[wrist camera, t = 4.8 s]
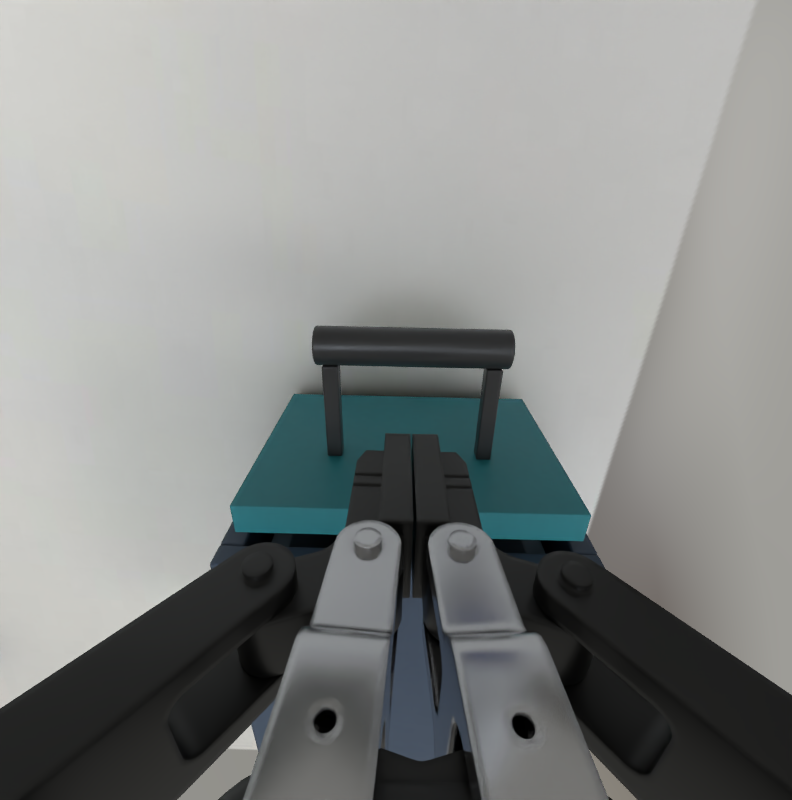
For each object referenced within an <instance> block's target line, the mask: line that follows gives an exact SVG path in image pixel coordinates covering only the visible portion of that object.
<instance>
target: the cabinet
mask: <svg viewBox="0 0 792 800" xmlns="http://www.w3.org/2000/svg"><path fill="white" fill-rule="evenodd" d="M274 534H275V533H252V532H235V529H234V524H233V522H232V524H231V526H230V528H229V530H228V531H227V533H226V535H225V537H224V539H223V541H222V543H221V546H220V547H219V548H218V550H217V552H216V554H215V556H214V558H213V559H212V561H211V563H210V567H211V569H212V568H214V567H215V566H217V565H218V564H220V563H222V562H223V561H225V560H226V559H228V558H229V557H231V556H232V555H234V554H235V553H237V552H238V551H240V550H242V549H243V548H246V547H248V546H250V545H254V544H257V543H265V542H272V539H273V537H274ZM540 541H541V543H542V546H543V548H544V551H545V553H546V554H533V553H506V554H508V555H510V556H513V557H516V558H519V559H523V560H526V561H530V562H533V563H537V564H539V562H540V560H541V559H542V558H543V557H544V556H545V555H547V554H548V553H551V552H555V551H569V552H574V553H577V554H580V555H583V556H585V557H587V558H589V559H591V560H592V561H594V562H596V563H597V564H599V565H600V566H602V567H603V568H605V567H604V565H603V564H602V562H601V560H600V558H599V557H598V556H597V552H596V551H595V549H594V547H593V545H592V543H591V542H590V540H589V538H588V536H587V534H585V538H584V541H556V540H540ZM287 548H288V549H289V550H290V551H291V552H292V554H293V555H294V557H298V556H302V555H306V554H310V553H314V552H317V551H320V550H323V549H325V548H308V547H287ZM422 620H423V605H422V598H412V561H411V580H410V598H403V599H402V619H401V623H400V626H399V628H398V641H397V652H396V664H395V675H394V686H393V698H392V709H391V721H390V734H389V750H388V751H391V752H394V753H397V754H399V755H402V756H405V757H408V758H411V759H413V760H417V761H427V760H431V759H434V730H433V719H432V711H431V702H430V694H429V686H428V678H427V670H426V662H425V654H424V646H423V638H422ZM274 703H275V700H274V701H273V702H272V703H271V704H270V705H269V706H268V708H267V709H266V710H265V711H264V712H263V713H262V714H261V715H260V716H259V717H258V718H257V719H256V720H255V721H254V722H253V723H252V724H251V725H252V729H253V733H254V736H255V740H256V744H257V748H258V752H259V749H260V746H261V743H262V740H263V737H264V733H265V730H266V727H267V724H268V721H269V718H270V715H271V712H272V709H273V706H274Z"/></svg>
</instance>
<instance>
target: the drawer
mask: <svg viewBox="0 0 792 800" xmlns="http://www.w3.org/2000/svg"><path fill="white" fill-rule="evenodd" d="M312 354H313V359H314V362H315V364H317V365H323V366H322V380H323V395H319V394H294V395H293V396H292V398H291V400H290V402H289V403H288V405H287V407H286V409H285V410H284V412H283V414H282V416H281V417H280V419H279V421H278V423H277V424H276V426H275V428H274V430H273V431H272V433H271V435H270V437H269V438H268V440H267V442H266V444H265V445H264V447H263V449H262V451H261V452H260V454H259V456H258V458H257V459H256V461H255V463H254V465H253V466H252V468H251V470H250V472H249V473H248V475H247V477H246V479H245V480H244V482H243V484H242V486H241V487H240V489H239V491H238V493H237V494H236V496H235V498H234V500H233V501H232V503H231V505H230V510H231V514H232V519H233V524H234V529H235V532H252V533H275V534H274V537H273V539H272V542H271V543H277V544H281V545H283V546H285V547H308V548H327V547H329V546H330V545H332V544H333V543H334V542H335V540H336V537H337V536H338V534H339V533H340V532H341V531H342V530H343V529H344V528H345V526H346V520H347V514H348V509H349V503H350V497H351V492H352V486H353V480H354V476H355V469H356V463H357V460H358V459H359V458H360V457H361V455H362V454H363V453H364V452H365V451H366V450H381V451H384V443H385V433H396V434H410V436H411V449H412V434H438V438H439V445H440V451H441V452H456V453H457V454H458V455H459V456H460V457H461V458H462V459H463V460H464V461H465V462H466V464H467V468H468V472H469V478H470V480H471V484H472V489H473V493H474V497H475V501H476V505H477V509H478V513H479V517H480V521H481V525H482V529H483V531H484V532H485V533H486V534H487V535H488V536H489V537H490V538H491V539H492V541H493V543H494V545H495V547H496V548H498V549H499V550H501V551H502V552H504V553H533V554H546V553H545V551H544V548H543V546H542V543H541V541H540V540H556V541H584V538H585V534H586V531H587V528H588V524H589V521H590V518H591V514H590V513H589V511H588V509H587V508H586V506H585V504H584V502H583V501H582V499H581V497H580V496H579V494H578V492H577V491H576V489H575V487H574V486H573V484H572V482H571V481H570V479H569V477H568V476H567V474H566V472H565V471H564V469H563V467H562V466H561V464H560V462H559V461H558V459H557V457H556V455H555V454H554V452H553V450H552V449H551V447H550V445H549V444H548V442H547V440H546V439H545V437H544V435H543V434H542V432H541V430H540V429H539V427H538V425H537V424H536V422H535V420H534V419H533V417H532V415H531V414H530V412H529V410H528V408H527V407H526V405H525V403H524V402H523V400H522V399H499V396H500V389H501V382H502V375H503V370H502V369H509V368H510V367H511V366H512V363H513V360H514V355H515V338H514V334H513V332H512V331H511V330H492V329H446V328H401V327H355V326H315V328H314V331H313V336H312ZM340 365H348V366H392V367H436V368H481V369H484V372H483V381H482V389H481V397H480V398H447V397H404V396H362V395H341V378H340Z"/></svg>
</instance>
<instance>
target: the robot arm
mask: <svg viewBox="0 0 792 800" xmlns="http://www.w3.org/2000/svg"><path fill="white" fill-rule="evenodd" d="M411 561H412V598H422V605H423V620H422V638H423V646H424V654H425V662H426V670H427V678H428V686H429V694H430V702H431V711H432V719H433V730H434V759H431V760H427V761H417V760H413V759H411V758H408V757H405V756H402V755H399V754H397V753H394V752H391V751H388V750H389V734H390V721H391V709H392V698H393V686H394V675H395V664H396V652H397V641H398V628H399V626H400V623H401V619H402V599H403V598H410V580H411ZM274 700H275V703H274V706H273V709H272V712H271V715H270V718H269V721H268V724H267V727H266V730H265V733H264V737H263V740H262V743H261V746H260V749H259V752H258V755H257V759H256V761H255V764H254V768H253V771H252V774H251V775H250V776H248V777H246V778H245V779H243V780H241V781H240V782H239V783H238V784H236V785H235V786H234V787H232V788H231V789H230V790H228V791H227V792H226V793H225V794H224V795H223V796H222V797H220V798H219V799H218V800H612V799H611V798H610V797H608V796H607V794H606V791H605V789H604V786H603V784H602V781H601V779H600V776H599V774H598V771H597V769H596V766H595V764H594V761H593V759H592V756H591V754H590V751H591V752H592V753H593V754H594V755H595V756H596V757H597V758H598V759H599V760H600V761H601V762H602V763H603V764H604V765H605V766H606V767H607V768H608V770H609V771H611V773H612V774H613V775H614V776H615V777H616V778H617V779H618V780H619V781H620V782H621V783H622V784H623V785H624V786H625V787H626V788H627V789H628V790H629V791H630V792H631V793H632V794H633V795H634V796H635V797H636V798H637V800H792V695H791V694H789V693H788V692H786V691H785V690H783V689H782V688H780V687H779V686H777V685H776V684H774V683H773V682H772V681H770V680H768V679H767V678H766V677H764V676H763V675H761V674H760V673H758V672H757V671H755V670H754V669H752V668H751V667H749V666H748V665H746V664H745V663H743V662H742V661H741V660H739V659H738V658H736V657H735V656H733V655H731V654H730V653H728V652H727V651H726V650H724V649H723V648H721V647H720V646H718V645H717V644H715V643H714V642H712V641H711V640H709V639H708V638H706V637H705V636H703V635H702V634H701V633H699V632H698V631H696V630H695V629H693V628H691V627H690V626H689V625H687V624H686V623H684V622H683V621H681V620H680V619H678V618H677V617H675V616H674V615H672V614H671V613H670V612H668V611H666V610H665V609H664V608H662V607H661V606H659V605H658V604H656V603H655V602H653V601H652V600H650V599H649V598H647V597H646V596H644V595H643V594H641V593H640V592H639V591H637V590H636V589H634V588H633V587H631V586H630V585H628V584H627V583H625V582H624V581H622V580H621V579H619V578H618V577H616V576H615V575H613V574H612V573H610V572H609V571H608V570H606V569H605V568H603V567H602V566H600V565H599V564H597V563H596V562H594V561H592V560H591V559H589V558H587V557H585V556H583V555H580V554H577V553H574V552H569V551H555V552H551V553H548V554H547V555H545V556H544V557H543V558H542V559H541V560H540V562H539V564H537V563H533V562H530V561H526V560H523V559H519V558H516V557H513V556H510V555H508V554H506V553H504V552H502V551H501V550H499V549H498V548H496V547H495V545H494V543H493V541H492V539H491V538H490V537H489V536H488V535H487V534H486V533H485V532H484V531H483V529H482V525H481V521H480V517H479V513H478V509H477V505H476V501H475V497H474V493H473V489H472V484H471V480H470V478H469V472H468V468H467V464H466V462H465V461H464V460H463V459H462V458H461V457H460V456H459V455H458V454H457V453H456V452H441V451H440V445H439V438H438V434H412V449H411V436H410V434H396V433H385V443H384V451H381V450H366V451H365V452H364V453H363V454H362V455H361V457H360V458H359V459H358V460H357V463H356V469H355V476H354V480H353V486H352V492H351V497H350V503H349V509H348V514H347V520H346V526H345V528H344V529H343V530H342V531H341V532H340V533H339V534H338V536H337V537H336V540H335V542H334V543H333V544H332V545H330V546H329V547H327V548H325V549H323V550H320V551H317V552H314V553H310V554H306V555H302V556H298V557H294V555H293V554H292V552H291V551H290V550H289V549H288V548H287V547H285V546H283V545H281V544H277V543H271V542H265V543H257V544H254V545H250V546H248V547H246V548H243V549H242V550H240V551H238V552H237V553H235V554H234V555H232V556H231V557H229V558H228V559H226V560H225V561H223V562H222V563H220V564H218V565H217V566H215V567H214V568H212V569H211V570H209V571H208V572H206V573H205V574H203V575H202V576H200V577H199V578H197V579H196V580H194V581H193V582H191V583H190V584H188V585H187V586H185V587H184V588H182V589H181V590H179V591H178V592H176V593H175V594H173V595H172V596H170V597H169V598H167V599H166V600H164V601H162V602H161V603H159V604H158V605H156V606H155V607H153V608H152V609H150V610H149V611H147V612H146V613H144V614H143V615H141V616H140V617H138V618H137V619H135V620H134V621H132V622H131V623H129V624H128V625H126V626H125V627H123V628H122V629H120V630H119V631H117V632H116V633H114V634H113V635H111V636H109V637H108V638H106V639H105V640H103V641H102V642H100V643H99V644H97V645H96V646H94V647H93V648H91V649H90V650H88V651H87V652H85V653H84V654H82V655H81V656H79V657H78V658H76V659H75V660H73V661H72V662H70V663H69V664H67V665H66V666H64V667H63V668H61V669H60V670H58V671H57V672H55V673H53V674H52V675H50V676H49V677H47V678H46V679H44V680H43V681H41V682H40V683H38V684H37V685H35V686H34V687H32V688H31V689H29V690H28V691H26V692H25V693H23V694H22V695H20V696H19V697H17V698H16V699H14V700H13V701H11V702H10V703H8V704H7V705H5V706H4V707H2V708H0V800H177V799H178V798H179V797H180V796H181V795H182V794H183V793H184V792H185V791H186V790H187V789H188V788H189V787H190V786H191V785H192V784H193V783H194V782H195V781H196V780H197V779H198V778H199V777H200V776H201V775H202V774H203V773H204V772H205V771H206V770H207V769H208V768H209V767H210V766H211V765H212V764H213V763H214V762H215V761H216V759H218V757H219V756H220V755H221V754H222V753H223V752H224V751H225V750H226V749H227V748H228V747H229V746H230V745H231V744H232V743H233V742H234V741H235V740H236V739H237V738H238V737H239V736H240V735H241V734H242V733H243V732H244V731H245V730H246V729H247V728H248V727H249V726H250V725H251V724H252V723H253V722H254V721H255V720H256V719H257V718H258V717H259V716H260V715H261V714H262V713H263V712H264V711H265V710H266V709H267V708H268V706H269V705H270V704H271V703H272V702H273V701H274ZM589 750H590V751H589Z"/></svg>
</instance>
